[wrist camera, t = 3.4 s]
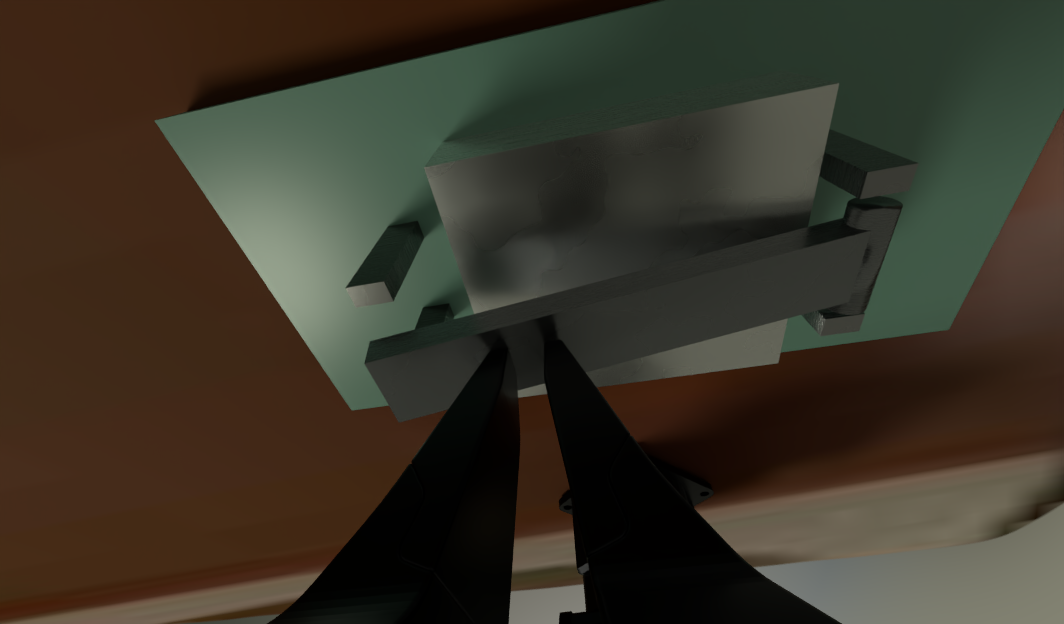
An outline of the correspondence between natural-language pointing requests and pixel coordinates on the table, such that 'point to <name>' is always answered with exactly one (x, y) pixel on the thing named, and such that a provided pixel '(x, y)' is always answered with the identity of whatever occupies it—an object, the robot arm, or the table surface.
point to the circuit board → (621, 77)
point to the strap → (646, 309)
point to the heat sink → (637, 204)
